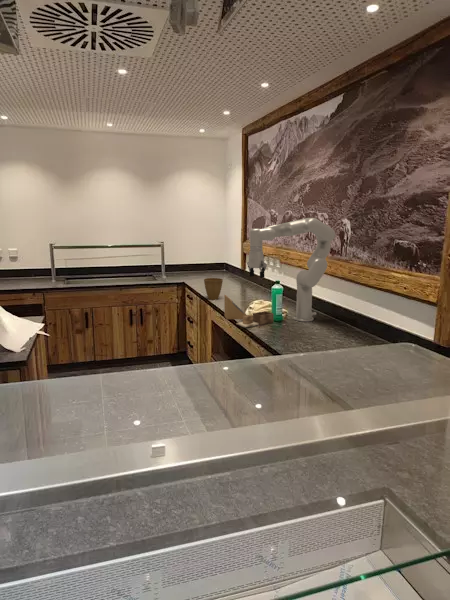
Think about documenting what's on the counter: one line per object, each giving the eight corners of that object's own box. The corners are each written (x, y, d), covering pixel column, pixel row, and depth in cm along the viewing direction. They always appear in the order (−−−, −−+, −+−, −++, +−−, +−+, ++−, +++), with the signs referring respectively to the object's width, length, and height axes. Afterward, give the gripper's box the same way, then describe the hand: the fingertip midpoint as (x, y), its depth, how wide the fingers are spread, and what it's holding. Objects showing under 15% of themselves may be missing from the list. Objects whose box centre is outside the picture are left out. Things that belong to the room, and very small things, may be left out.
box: (264, 320, 266) (265, 311, 265) (273, 323, 260) (273, 313, 258) (252, 322, 261) (252, 313, 259) (260, 325, 254) (260, 315, 253)
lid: (249, 323, 260) (250, 313, 259) (258, 326, 253) (259, 316, 252) (236, 325, 254) (236, 315, 253) (245, 328, 247) (245, 318, 246)
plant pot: (201, 300, 329) (200, 280, 326) (208, 296, 343) (208, 277, 340) (218, 301, 324) (218, 281, 321) (225, 298, 338) (225, 278, 334)
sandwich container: (250, 318, 271) (250, 295, 268) (226, 319, 269) (226, 296, 266) (247, 315, 280) (247, 293, 277) (224, 316, 277) (224, 294, 274)
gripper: (242, 249, 259) (243, 276, 263) (261, 250, 246) (261, 279, 249) (251, 248, 264) (252, 275, 267) (270, 249, 250) (271, 277, 253)
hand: (256, 277), depth 258 cm, fingers open, 9 cm apart
